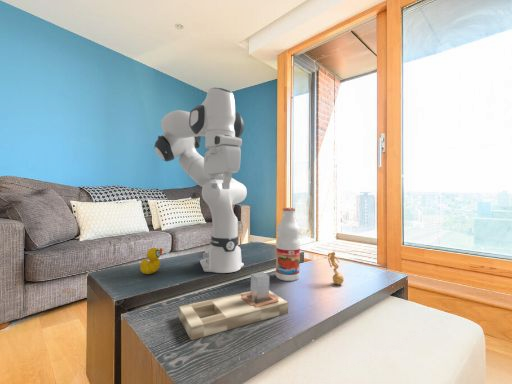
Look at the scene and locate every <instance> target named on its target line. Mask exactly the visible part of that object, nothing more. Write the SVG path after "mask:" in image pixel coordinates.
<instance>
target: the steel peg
mask: <svg viewBox="0 0 512 384" xmlns="http://www.w3.org/2000/svg"><path fill="white" fill-rule="evenodd" d="M269 290H270V275H269V274H267V273H265V272H264V271H262V272H254V273H251V274H250V291H251V298H250V300H252V301H253V302H254V303H255V304H257V303H261V302H265V301H269Z"/></svg>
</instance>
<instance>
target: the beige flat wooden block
mask: <svg viewBox="0 0 512 384" xmlns="http://www.w3.org/2000/svg"><path fill="white" fill-rule="evenodd" d="M250 298H251V290H250V291H244V292H241V293H240V292H239V293H237V294H236V293H235V294H231V295H226V296H221V297H217V298H216V297H215V298H212V299H207V300H203V301H198V302H193V303H189V304H184V305H179V306H178V319H179V320H180V323H181V324H182V326H183V328H184V330H185V332H186V333H187V335H188V337H189V340H190V341H194V340H197V339H200V338H203V337H208V336H211V335H215V334H218V333H222V332H226V331H228V330H232V329H235V328H239V327H240V328H241V327H242V326H247V325H250V324H253V323H257V322H261V321H264V320H268V319H271V318H275V317H278V316H281V315H285V314H288V313H289V302H288V301H287V300H285V299H283V298H282V297H280V296H279V295H277V294H276V293H274V292H273V291H271V290H270V289H269V301H265V302H261V303H257V304H255V303H254V302H253V301H252V300H250Z"/></svg>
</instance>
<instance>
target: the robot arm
mask: <svg viewBox="0 0 512 384" xmlns="http://www.w3.org/2000/svg"><path fill="white" fill-rule="evenodd" d="M235 102H236V101H235V96H234V93H233V92H232V91H231V90H230V89H229V90H228V89H226V88H222V87H212V88H211V87H210V88H209V89H207V93H206V97H205V99H204V101H202V103H201V104H200V105H196V106H195V107H194V108H193V109H192V110H190V111H186V110H180V109H177V110H176V109H175V110H172V111H170V112H168V113H166V114H165V115H164V116H163V117H162V118H161V121H160V126H161V127H160V128H161V131H162V132H163V134H162V135H158V136H157V140H156V141H155V143H154V151H155V153H156V155H157V156H158V157H159V158H160V159H161V160H162V161H164V162H170V161H173V160H175V158H178V163H179V165H180V167H181V168H182V170H183V171H184V173H186V174H187V175H188V176H189V177H190V178H191V179H192V180H193V181H194V182H195V183H196V184H197V185H199V186H200V187H201V188H202V189H201V197H202V200H203V201H204V202H205V203H206V204H207V206H208V208H209V211H210V214H211V219H212V220H211V221H212V223H211V224H212V235H211V237H210V245H209V246H208V247H207V248H206V249H205V250H204V251H205V252H203V253H202V258H203V259H200V260H199V263H200V266H201V268H202V270H203V272H206V273H207V272H208V273H215V274H216V273H217V274H218V273H219V274H226V273H233V272H237V271H240V270H241V268H243V267H244V266H245V265H244V262H242V249H241V247H240V246H239V241H240V240H239V235H238V230H239V229H238V228H239V227H238V225H239V220H238V217H237V216H236V214H235V213H234V209H233V205H237V204H239V203H242V202H243V201H244V200H246V198H247V195H248V193H247V192H248V191H247V190H248V189H247V187H246V186H245V184H243V183H241V182H240V181H238V180H236V179H235V178H233V174H236V173H238V172H239V171H240V167H241V160H242V159H241V158H242V157H241V156H242V154H241V153H242V150H241V147H242V145H243V140H242V138H240V137H241V136H242V135H243V133H244V130H245V122H244V120H243V117H242V115H241V114H240V113H239V112H237V111H236V103H235ZM202 137H205V142H204V147H205V149H206V150H207V151H205V152H204V156H202V155H201V154H200V153H199V152H198V151H197V149H199V148H200V147H201V145H200V143H201V140H202Z"/></svg>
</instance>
